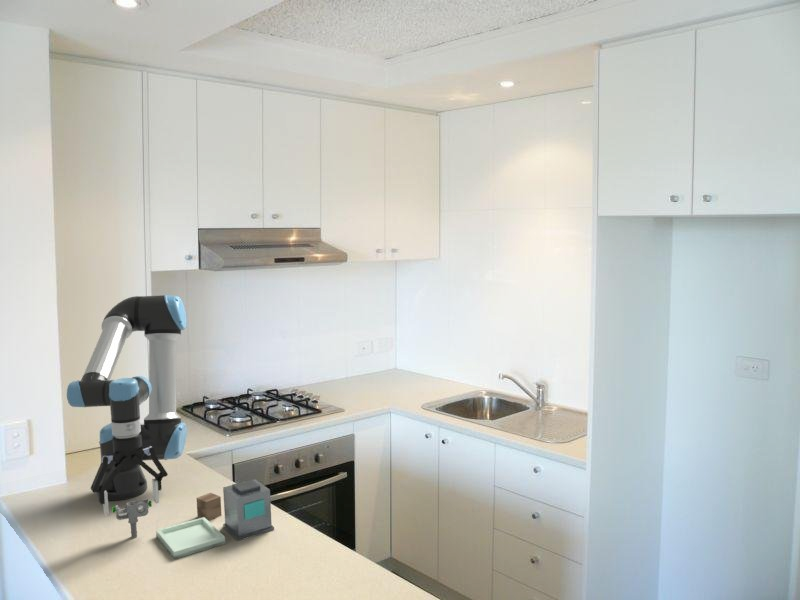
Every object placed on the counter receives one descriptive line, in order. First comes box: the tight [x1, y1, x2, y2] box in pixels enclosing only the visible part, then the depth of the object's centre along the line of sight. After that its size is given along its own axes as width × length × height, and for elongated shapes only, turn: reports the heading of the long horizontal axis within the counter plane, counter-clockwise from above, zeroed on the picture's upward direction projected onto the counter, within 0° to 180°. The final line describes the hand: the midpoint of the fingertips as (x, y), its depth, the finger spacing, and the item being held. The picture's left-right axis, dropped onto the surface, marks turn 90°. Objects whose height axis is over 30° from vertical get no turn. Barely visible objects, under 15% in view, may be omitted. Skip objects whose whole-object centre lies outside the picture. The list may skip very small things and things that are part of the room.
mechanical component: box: [112, 498, 152, 539], centre depth 200 cm, size 3×10×10 cm, turn 111°
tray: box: [155, 517, 226, 560], centre depth 197 cm, size 16×14×2 cm
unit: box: [222, 479, 275, 542], centre depth 204 cm, size 11×11×13 cm
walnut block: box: [196, 492, 222, 522], centre depth 213 cm, size 5×5×6 cm
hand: (131, 508), depth 199 cm, fingers open, 13 cm apart
